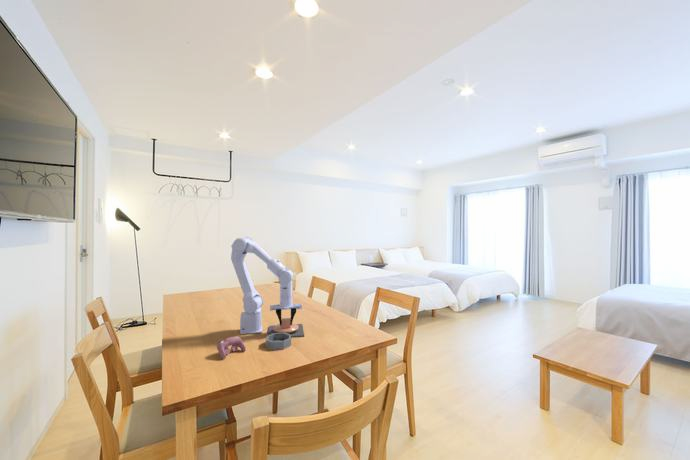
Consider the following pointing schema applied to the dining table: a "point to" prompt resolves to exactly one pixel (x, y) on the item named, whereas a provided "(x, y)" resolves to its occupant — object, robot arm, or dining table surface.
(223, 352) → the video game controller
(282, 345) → the bowl
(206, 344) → the dining table surface
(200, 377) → the dining table surface
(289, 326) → the lid
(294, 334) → the mat
